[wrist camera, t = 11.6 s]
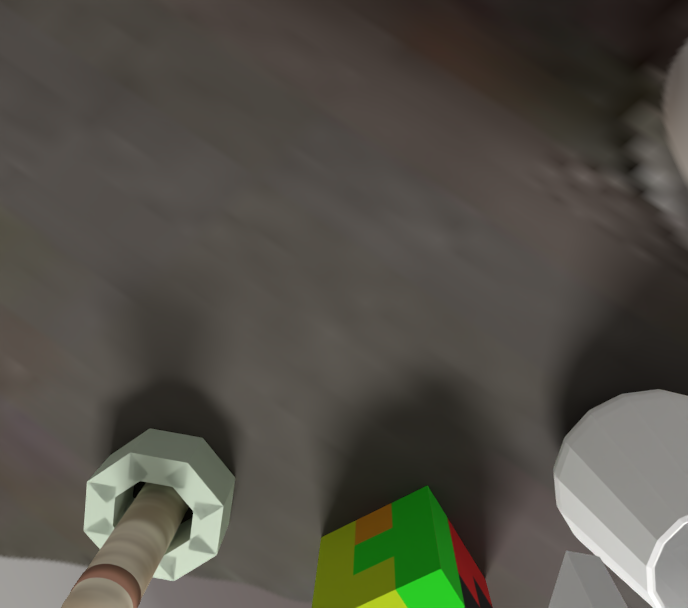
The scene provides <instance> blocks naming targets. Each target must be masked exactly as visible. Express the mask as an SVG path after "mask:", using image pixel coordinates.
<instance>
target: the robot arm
mask: <svg viewBox="0 0 688 608" xmlns="http://www.w3.org/2000/svg"><path fill="white" fill-rule="evenodd" d="M548 608H628V607H627V605H626V603H625V602H624V600H623V598H622V596H621V594H620V593H619V591H618V589H617V587H616V585H615V584H614V582H613V580H612V578H611V576H610V575H609V573H608V571H607V569H606V567H605V565H604V564H603V562H602V560H601V558H600V557H598V556H593V555H587V554H582V553H576V552H571V551H566V553H565V556H564V560H563V563H562V566H561V569H560V572H559V575H558V579H557V582H556V585H555V588H554V591H553V595H552V598H551V601H550V604H549V607H548Z"/></svg>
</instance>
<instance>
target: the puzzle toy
mask: <svg viewBox="0 0 688 608" xmlns="http://www.w3.org/2000/svg"><path fill="white" fill-rule="evenodd" d="M312 608H493V607H492V604H491V600H490V596H489V592H488V588H487V584H486V580H485V578H484V576H483V575H482V573H481V572H480V570H479V568H478V567H477V565H476V563H475V562H474V560H473V558H472V557H471V555H470V554H469V552H468V550H467V549H466V547H465V545H464V544H463V542H462V541H461V539H460V537H459V536H458V534H457V532H456V531H455V529H454V528H453V526H452V524H451V523H450V521H449V519H448V518H447V516H446V514H445V513H444V511H443V510H442V508H441V506H440V505H439V503H438V501H437V500H436V498H435V497H434V495H433V493H432V492H431V490H430V488H429V487H428V485H427V486H425V487H423V488H421V489H419V490H417V491H415V492H413V493H411V494H409V495H407V496H405V497H403V498H401V499H399V500H397V501H395V502H393V503H391V504H388V505H386V506H384V507H382V508H380V509H378V510H376V511H374V512H372V513H370V514H368V515H366V516H364V517H362V518H360V519H358V520H356V521H354V522H352V523H350V524H348V525H345V526H343V527H341V528H339V529H337V530H335V531H333V532H331V533H329V534H327V535H325V536H323V537H321V543H320V550H319V558H318V565H317V572H316V580H315V587H314V594H313V601H312Z"/></svg>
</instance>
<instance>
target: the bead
mask: <svg viewBox="0 0 688 608" xmlns="http://www.w3.org/2000/svg"><path fill="white" fill-rule="evenodd" d="M139 481H143V482H148V483H154V484H159V485H165V486H170V487H173V488H174V489H175V490H176V491H177V493H178V494H179V495H180V496H181V497H182V499H183V500H184V501H185V502H186V503H187V504H188V506H189V507H190V508H191V509H192V510H193V517H191V518H190V519H188V520H187V521H185V522H183V523H182V524H180V525H179V527H178V529H177V531H176V533H175V535H174V537H173V538H172V540H171V542H170V544H169V546H168V548H167V550H166V552H165V554H164V556H163V558H162V560H161V562H160V564H159V565H158V567H157V569H156V571H155V573H154V575H153V577H154V578H160V579H165V580H171V581H175V580H177V579H178V578H180V577H181V576H183V575H185V574H186V573H188V572H190V571H191V570H193V569H195V568H196V567H198V566H199V565H201V564H203V563H204V562H206V561H208V560H209V559H211V558H213V557H214V556H216V555H217V553H218V551H219V548H220V546H221V543H222V540H223V538H224V535H225V533H226V530H227V528H228V525H229V520H230V513H231V506H232V499H233V492H234V485H235V477H234V476H233V474H232V473H231V472H230V471H229V469H228V468H227V467H226V466H225V465H224V463H223V462H222V461H221V460H220V458H219V457H218V456H217V455H216V453H215V452H214V451H213V450H212V449H211V447H210V446H209V445H208V444H207V442H206V441H205V440H204V439H203V438H201V437H195V436H190V435H184V434H179V433H173V432H168V431H162V430H156V429H151V428H150V429H148V430H147V431H145V432H144V433H142V434H141V435H139V436H138V437H136V438H135V439H133V440H132V441H130V442H129V443H127V444H126V445H124V446H123V447H122V448H120V449H119V450H117V451H116V452H114V453H113V454H111V455H110V456H109V457H108V458H107V459H106V460H105V462H104V463H103V464H102V465H101V466H100V467H99V469H98V470H97V471H96V472H95V473H94V474H93V475H92V477H91V478H90V479H89V480H88V481H87V491H86V505H85V520H84V532H85V533H86V534H87V535H88V536H89V537H90V538H91V540H92V541H93V542H94V543H95V544H96V545H97V546H98V547H99V549H101V548H102V546H103V545H104V543H105V542H106V540H107V539H108V537H109V536H110V534H111V533H112V531H113V530H114V529H115V527H116V526H117V524H118V523H119V521H120V520H121V518H122V517H123V515H124V514H125V513H126V511H127V510H128V508H129V507H130V505H131V504H132V502H133V501H134V499H135V498H134V497H133V491H134V485H135V484H136V483H138V482H139Z"/></svg>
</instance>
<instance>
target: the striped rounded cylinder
mask: <svg viewBox="0 0 688 608" xmlns="http://www.w3.org/2000/svg"><path fill="white" fill-rule="evenodd" d="M188 508H189V506H188V504H187V503H186V502H185V501H184V500H183V499H182V497H181V496H180V495H179V494H178V493H177V491H176V490H175V489H174V488H173V487H170V486H165V485H159V484H154V483H148V482H146V483H145V485H144V486H143V488H142V489H141V491H140V492H139V494H138V495H137V497H136V498H135V499H134V501H133V502H132V504H131V505H130V507H129V508H128V510H127V511H126V513H125V514H124V515H123V517H122V518H121V520H120V521H119V523H118V524H117V526H116V527H115V529H114V530H113V531H112V533H111V534H110V536H109V537H108V539H107V540H106V542H105V543H104V545H103V546H102V548H101V549H100V550H99V552H98V553H97V555H96V556H95V558H94V559H93V561H92V562H91V564H90V565H89V566H88V568H87V569H86V571H85V572H84V573H83V574H82V575H81V577H80V578H79V580H78V581H77V583H76V584H75V585H74V587H73V588H72V590H71V592H70V594H69V596H68V597H67V599H66V600H65V601H64V603H63V605H62V607H61V608H137V607H138V605H139V604H140V601H141V598H142V596H143V594H144V592H145V590H146V589H147V587H148V585H149V583H150V581H151V579H152V577H153V575H154V573H155V571H156V569H157V567H158V565H159V564H160V562H161V560H162V558H163V556H164V554H165V552H166V550H167V548H168V546H169V544H170V542H171V540H172V538H173V537H174V535H175V533H176V531H177V529H178V527H179V525H180V523H181V521H182V519H183V517H184V515H185V513H186V512H187V510H188Z"/></svg>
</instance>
